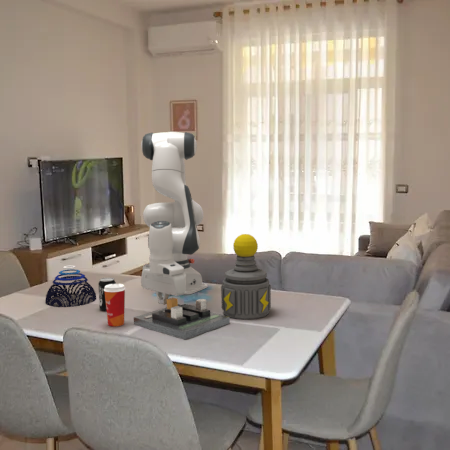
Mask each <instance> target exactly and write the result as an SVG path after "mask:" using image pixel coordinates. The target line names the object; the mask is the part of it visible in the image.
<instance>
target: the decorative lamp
mask: <svg viewBox="0 0 450 450" xmlns="http://www.w3.org/2000/svg"><path fill="white" fill-rule="evenodd" d="M258 247H259V246H258V241H257V239H256V238H255V237H254V236H253V235H251V234H249V233H248V234H247V233H241V234H240V235H238V236H237V237H236V238H235V239H234V241H233V247H232V248H233V251H234V253H235V254H236V260H235V262H234V263H235V265H234V268H231V269H229V270H227V271H225V272H224V274H225V275H224V279H222V284H221V287H220V288H221V290H220V291H221V294H220V295H221V296H220V297H221V309H222V311H223V312H222V314H223V315H225V316H229V317H230V318H231V319H236V320H237V319H238V320H255V319H256V320H257V319H262V318H265V317H267V315H268V314H269V313H270V310H271V306H272V303H271V300H272V298H271V297H272V296H271V295H272V293H271V288H272V287H271V284H270V280H269V279H268V276H267V271H265V270H263V269H262V268H258V265H257V261H256V260H255V259H256V257H255V254H256V253H257V251H258V249H259V248H258Z"/></svg>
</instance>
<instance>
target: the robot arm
mask: <svg viewBox="0 0 450 450" xmlns="http://www.w3.org/2000/svg"><path fill="white" fill-rule="evenodd" d="M140 149H141V152H142V155H143V157H145V158H146V159H148V160H150V161H152V163H151V165H152V166H151V182H152V187H153V188H154V190H155V191H157V193H159V194H160V195H162V196H164V197H165V198H166V197H167V198H169V199H172V200H174V201H173V202H171V201H169V202H154V203H150V204H147V205H146V206H145V208H144V209H143V213H142V219H143V223H145V224H146V227H148V228H149V230H148V237H147V238H148V239H147V246H148V247H147V248H148V250H149V258H148V259H149V260H148V261H149V263H145V264H143V266H142V272H141V280H140V283H141V288H142V289H143V290H144V289H145V290H150V291H153V292H155V295H156V297H157V300H158V304H161V305H164V306H165V305H167V299H169V297H170V296H176V297H179V296H183V295H192V294H195V293H197V292H200V291H203V290H204V289H206V288H209V287H208V284H206V283H205V282H204V283H203V277H202V275H201V273H200V272H199V271H198V270H196V269H195V268H193V267H192V266H191V264H193V265H194V263H195V259H194V258H188V255H190V256H192V255H193V254H195V253H196V252H197V251H199V249H200V247H201V246H200V245H201V238H200V234H199V231H198V228H197V226H199V225H200V224H201V223H202V221H203V219H204V210H203V207H202V206H201V204H199V203H198V202H197V201H195V200H194V199H193V198H192V193H191V190H190V188H189V186H188V185H187V182H186V165H185V164H186V163H185V160H186V161H187V160H189V159H192V158H193V157H194V156H195V155H196V152H197V149H198V142H197V140H196V137H195V135H194V133H191V132H181V131H179V132H178V131H167V132H166V131H165V132H163V131H162V132H156V133H154V132H148V133H145V134H144V135H143V137H142V140H141V143H140Z"/></svg>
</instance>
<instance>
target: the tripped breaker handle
mask: <svg viewBox="0 0 450 450" xmlns="http://www.w3.org/2000/svg"><path fill="white" fill-rule="evenodd" d="M178 301H179V300H178V298H177V297H170V298H169V297H168V299H167V304H166V308H167V309H170V310H171V308H172V307H175V306H178V304H179V302H178Z"/></svg>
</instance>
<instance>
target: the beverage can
mask: <svg viewBox="0 0 450 450" xmlns="http://www.w3.org/2000/svg"><path fill="white" fill-rule="evenodd" d="M109 284H117V282H116V281H115V278H114V277H101V278H100V279H99V282H98V303H99V310H101V311H103V312H107V310H106V300H105V291H104V288H105V286H106V285H109Z"/></svg>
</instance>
